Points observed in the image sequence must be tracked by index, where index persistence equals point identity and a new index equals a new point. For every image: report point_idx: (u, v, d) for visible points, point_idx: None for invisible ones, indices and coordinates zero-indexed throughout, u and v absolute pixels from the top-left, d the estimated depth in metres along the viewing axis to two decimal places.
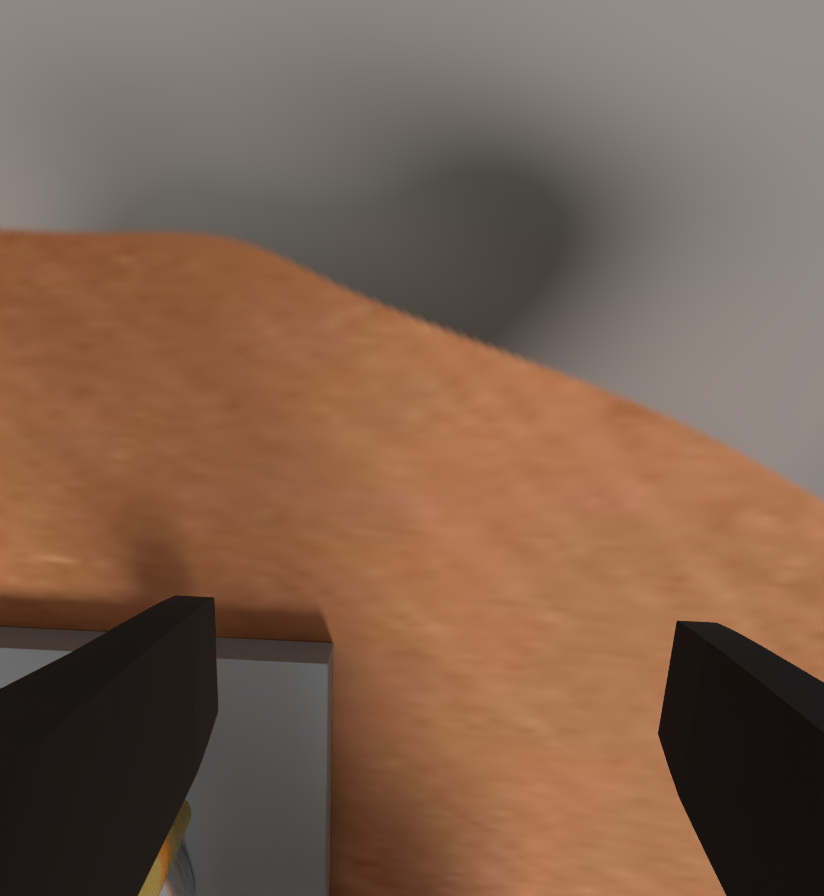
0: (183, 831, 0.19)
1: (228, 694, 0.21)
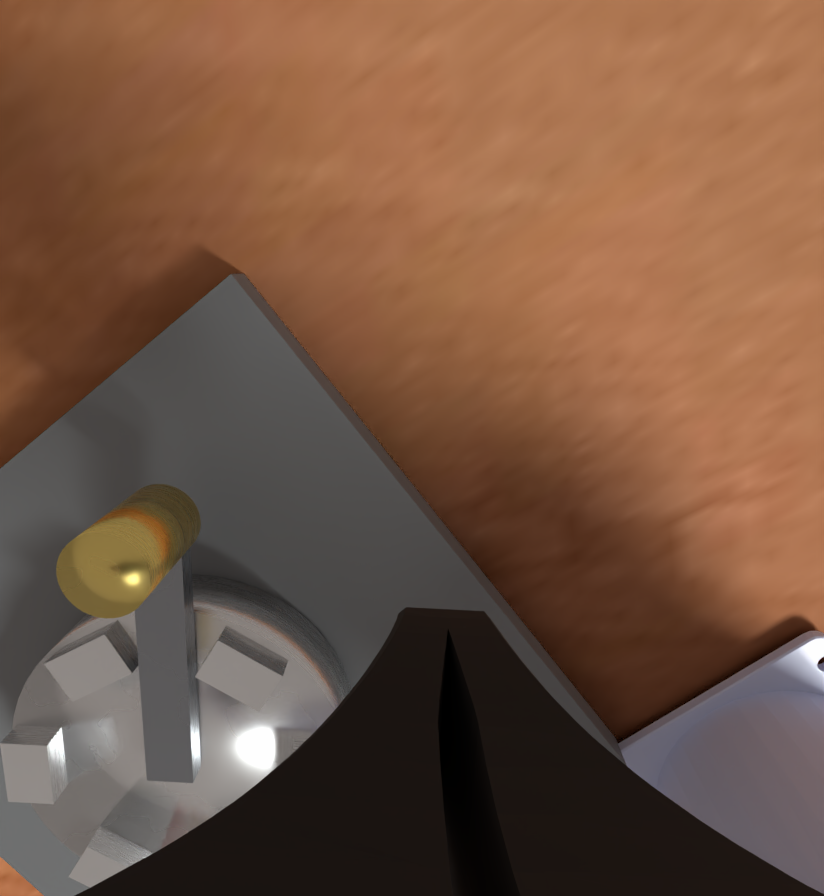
0: (180, 507, 0.15)
1: (173, 389, 0.17)
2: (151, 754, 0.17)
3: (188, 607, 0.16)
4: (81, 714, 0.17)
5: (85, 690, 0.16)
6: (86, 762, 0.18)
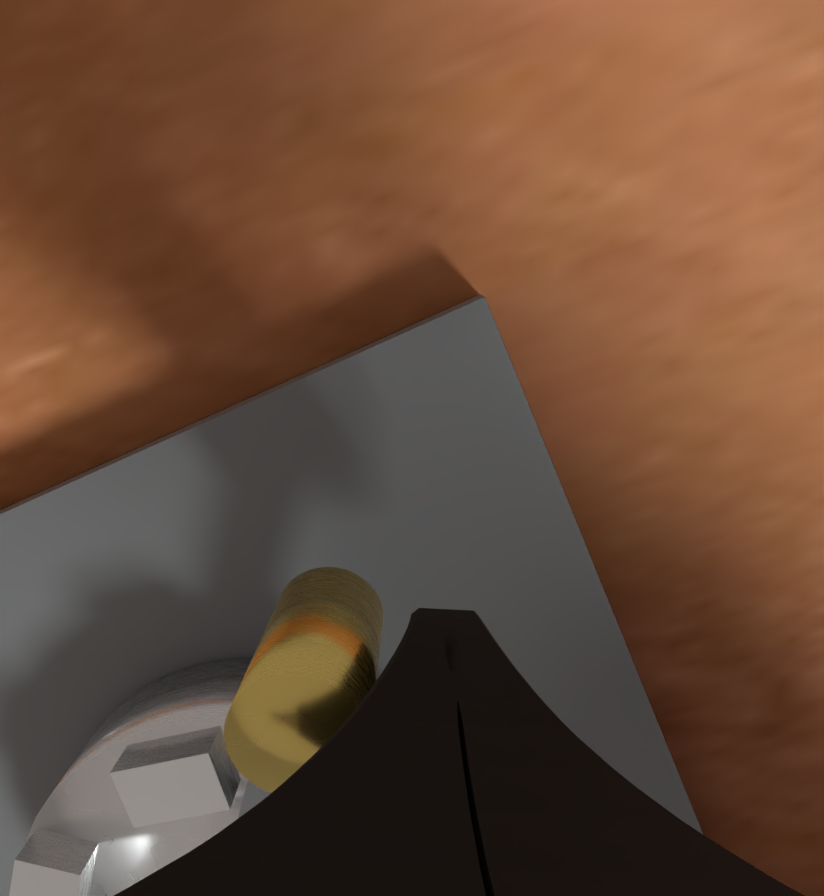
0: (374, 615, 0.10)
1: (358, 426, 0.13)
2: None
3: None
4: (131, 832, 0.13)
5: (157, 817, 0.12)
6: None
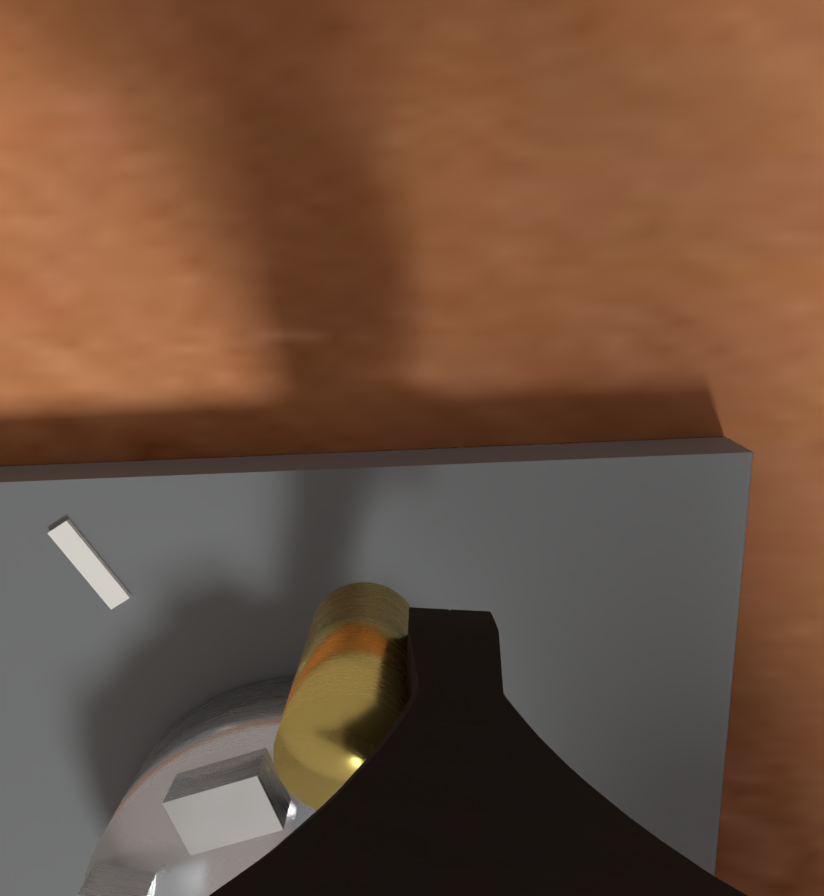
0: None
1: (587, 520, 0.13)
2: None
3: None
4: (187, 859, 0.13)
5: (212, 843, 0.12)
6: None
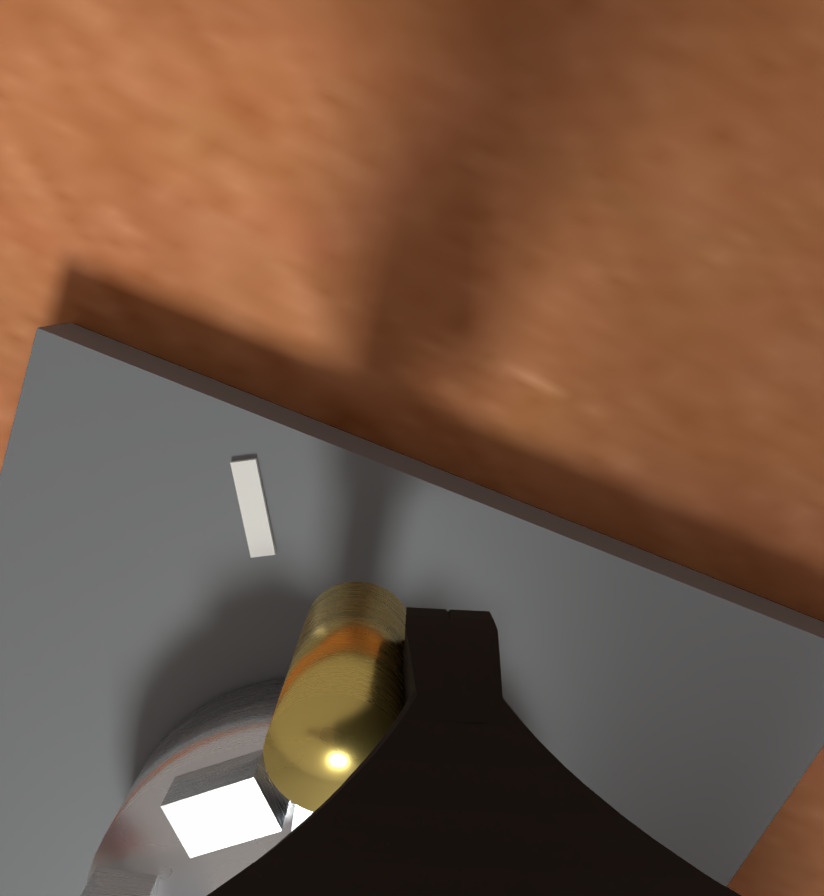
0: (401, 625, 0.10)
1: (717, 659, 0.14)
2: None
3: None
4: (188, 862, 0.13)
5: (211, 845, 0.12)
6: None
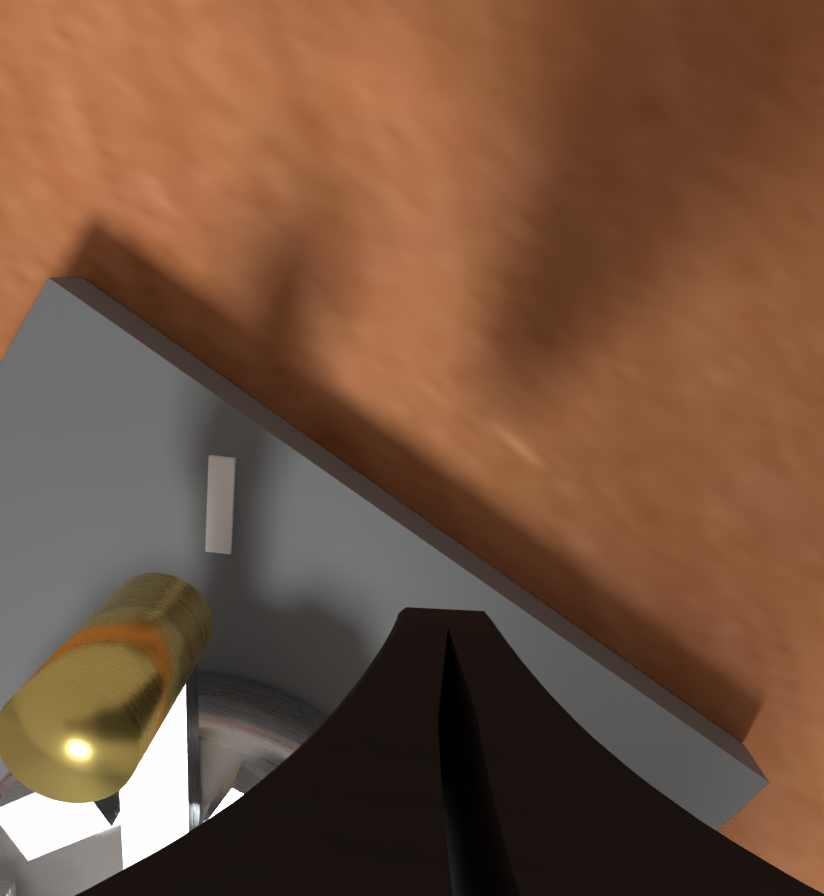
0: (185, 612, 0.10)
1: (623, 747, 0.14)
2: None
3: (192, 740, 0.12)
4: (42, 865, 0.13)
5: (46, 846, 0.12)
6: None
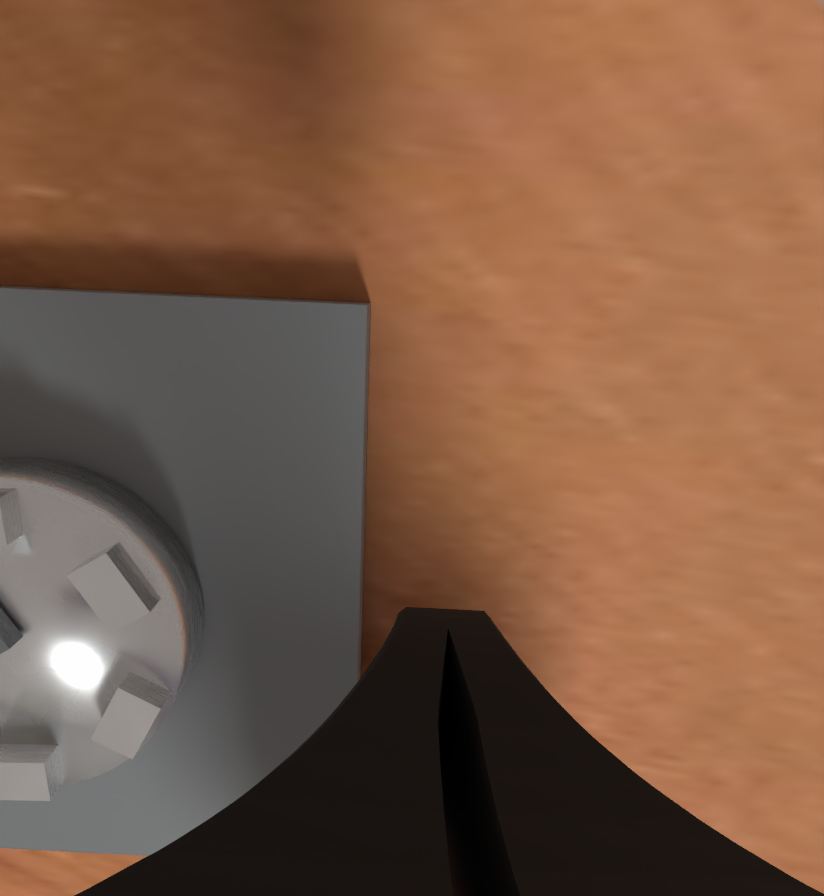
0: None
1: (246, 348, 0.17)
2: None
3: None
4: None
5: None
6: None
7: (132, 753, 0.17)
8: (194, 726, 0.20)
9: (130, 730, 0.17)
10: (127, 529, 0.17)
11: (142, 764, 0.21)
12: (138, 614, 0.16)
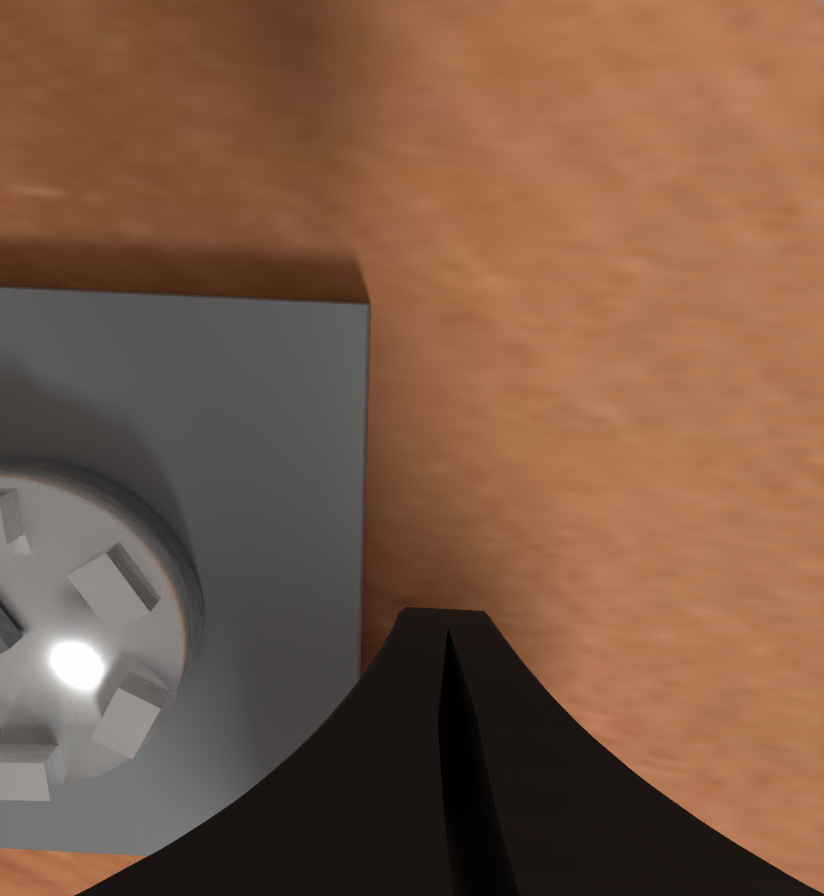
0: None
1: (246, 348, 0.17)
2: None
3: None
4: None
5: None
6: None
7: (132, 753, 0.17)
8: (194, 726, 0.20)
9: (130, 730, 0.17)
10: (127, 529, 0.17)
11: (142, 764, 0.21)
12: (138, 614, 0.16)
